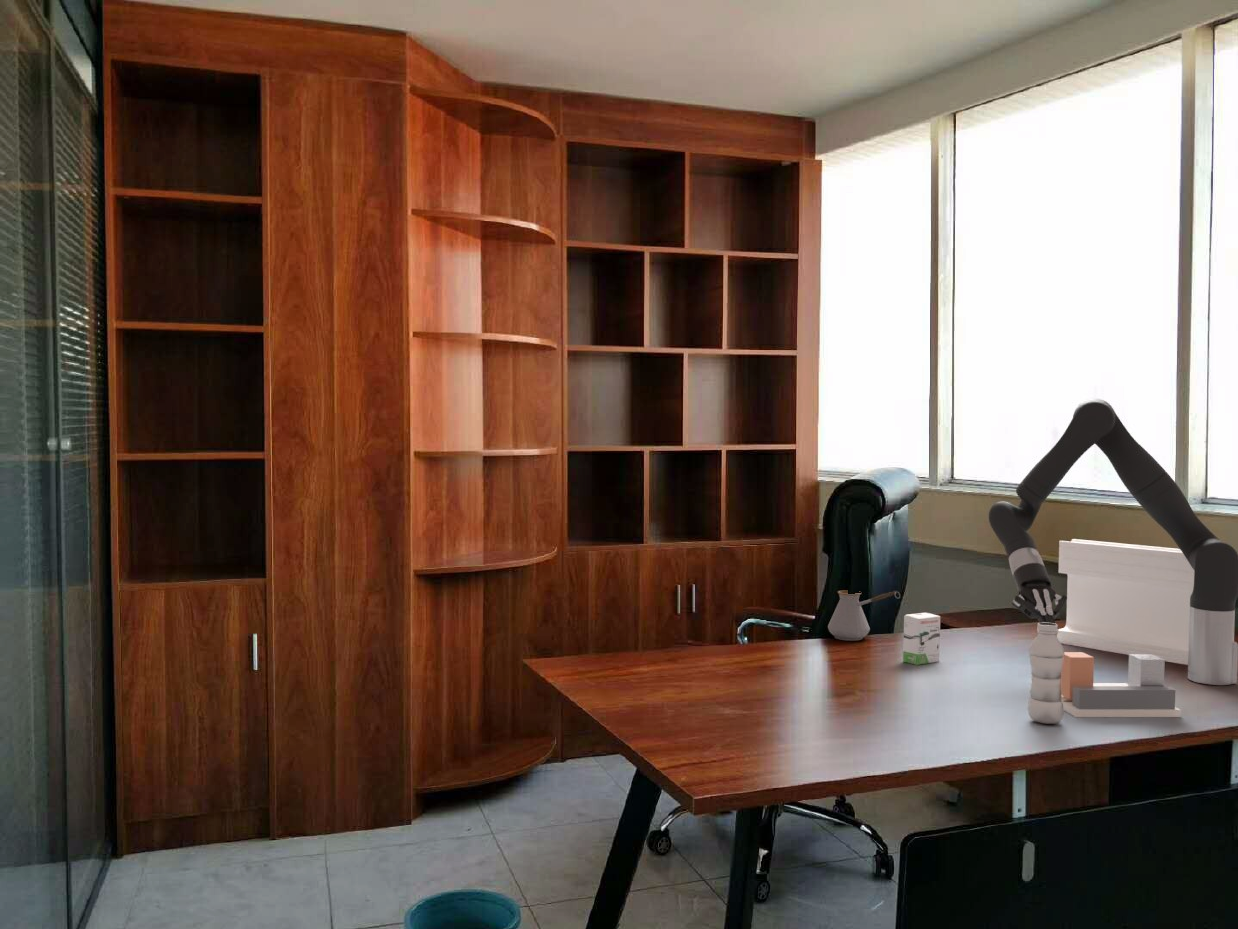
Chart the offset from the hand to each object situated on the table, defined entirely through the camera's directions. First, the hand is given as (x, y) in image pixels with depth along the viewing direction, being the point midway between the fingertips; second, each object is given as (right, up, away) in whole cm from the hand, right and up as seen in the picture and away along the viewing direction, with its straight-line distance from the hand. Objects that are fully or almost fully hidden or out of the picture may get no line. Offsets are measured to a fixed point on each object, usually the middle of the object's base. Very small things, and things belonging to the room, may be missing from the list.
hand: (1051, 632), depth 243 cm
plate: (+5, -13, -14) cm, 20 cm away
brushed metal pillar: (+13, -11, -18) cm, 25 cm away
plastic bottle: (-13, -14, -29) cm, 35 cm away
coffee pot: (-32, -10, +49) cm, 59 cm away
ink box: (-23, -11, +24) cm, 35 cm away
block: (+36, -11, +38) cm, 53 cm away
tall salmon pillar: (-2, -11, -17) cm, 20 cm away
